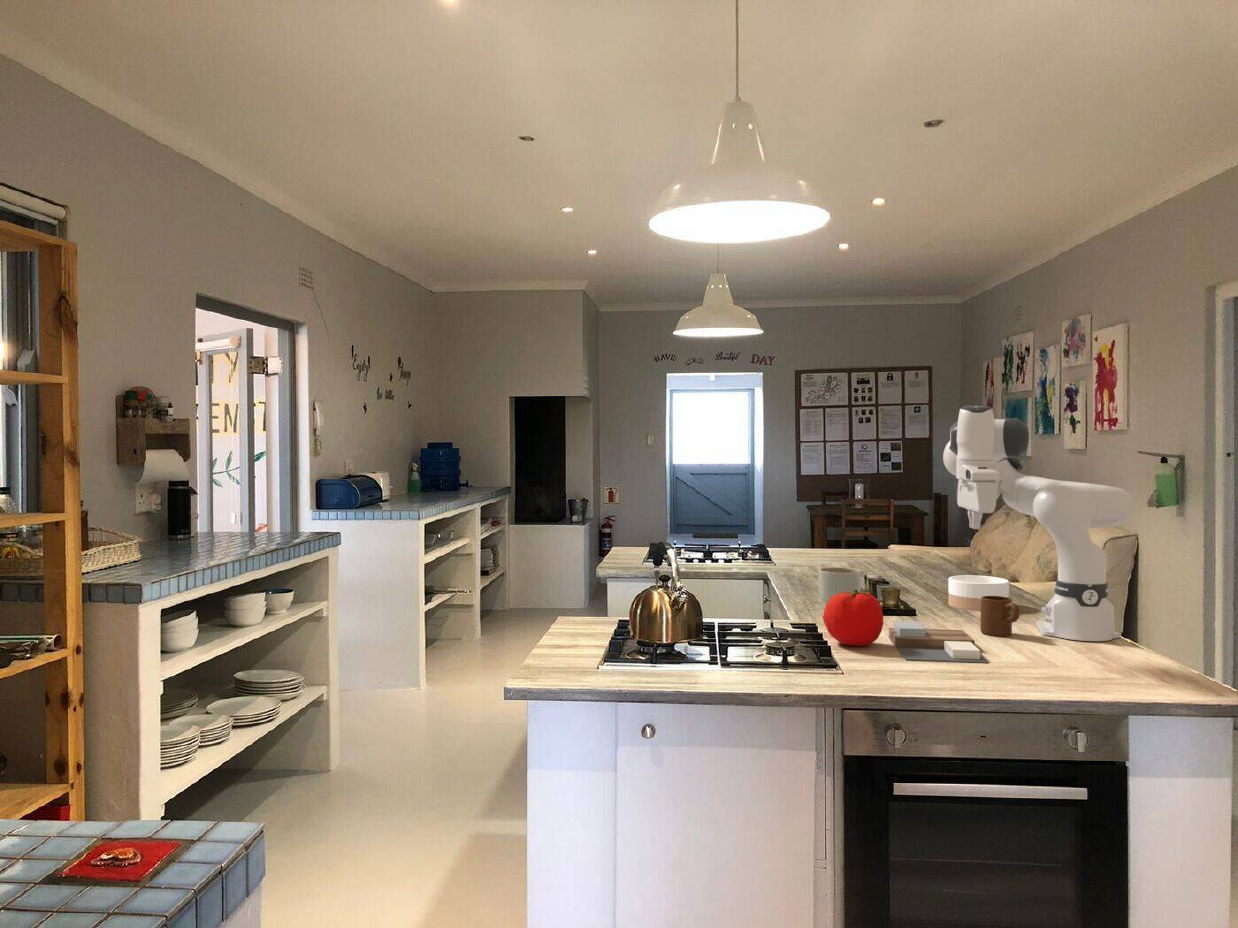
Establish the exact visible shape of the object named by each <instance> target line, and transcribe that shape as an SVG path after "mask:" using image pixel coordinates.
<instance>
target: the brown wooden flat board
mask: <svg viewBox="0 0 1238 928" xmlns="http://www.w3.org/2000/svg"><path fill="white" fill-rule="evenodd" d="M888 639H889V640H890V641H891V642H892V644H893V645H894V647H895V648H896V649H897V647H907V648H938V649H944V641H958V642H971V643H972V644H973V645H974V646H976V645H975V639H974V638H973V637H971V636H970V635H969V634H967V633H966V632H965V631H964V630H963V629H936V628H925V637H900V636H899V635H898V634H897V632H896V631H895V630H894V627H888Z"/></svg>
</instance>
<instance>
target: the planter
mask: <svg viewBox="0 0 1238 928" xmlns="http://www.w3.org/2000/svg"><path fill="white" fill-rule="evenodd" d="M861 572H862V571H861V570H860V569H857V568H852V567H843V566H842V567H841V566H840V567H839V566H835V567H834V566H833V567H822V568H819V570H818V577H819V578H818V580H819V590H820V591H819V592H820V598H821V600H822V602H824V603H825V605H826V604H827V603H828V601H829V600H830V598H832V597H833V596H834V595H837V594H840V593H843V592H846V591H850V592H851V591H854V590H855V589H857V591H858V592H859V591H861V590H860V588H861V576H862V575H861V574H862V573H861Z"/></svg>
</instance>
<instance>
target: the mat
mask: <svg viewBox="0 0 1238 928" xmlns="http://www.w3.org/2000/svg"><path fill="white" fill-rule="evenodd" d="M896 649H897V650H898V652H899V653H900V655H901V656H902V657H903V658H904V660H905V661H910V662H911V661H912V662H913V661H914V662H919V661H920V662H939V663H940V662H944V663H946V662H947V663H970V664H971V663H976V664H988V663H989V661H988V660H987V659H986V658H984V657H983V655H981V654H980V659H958V658H952V657H951V656H950V655H949V654H948V653H947V652H946V651H945V650H944V649H938V648H907V647H897V648H896Z"/></svg>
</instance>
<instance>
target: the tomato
mask: <svg viewBox="0 0 1238 928" xmlns="http://www.w3.org/2000/svg"><path fill="white" fill-rule="evenodd" d="M868 590H869V588H866V589H864V590H859V592H858V591H857V589H855V590H854V591H851V592H850V591H846V592H843V593H840V594H837V595H834V596H833V597H832V598H830V600H829V601H828V603H827V604H826V603H825V607H824V610H823V614H822V619H823V623H824V626H825V628H826V630H827V632H828V633H829V635H830V636H831V637H832V638H833V639H835V640H836V641H837V642H838V643H840V644H842V645H845V646H854V647H865V646H869V645H871V644H872V643H874V642H876V640H878V639H879V637H880V635H881V633H882V631H883V626H884V614H883V609H882V606H881V604H880V602H879V601H878V599H877V598H876V597H875V596H874V595H872V593H869V592H866V591H868Z"/></svg>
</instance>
